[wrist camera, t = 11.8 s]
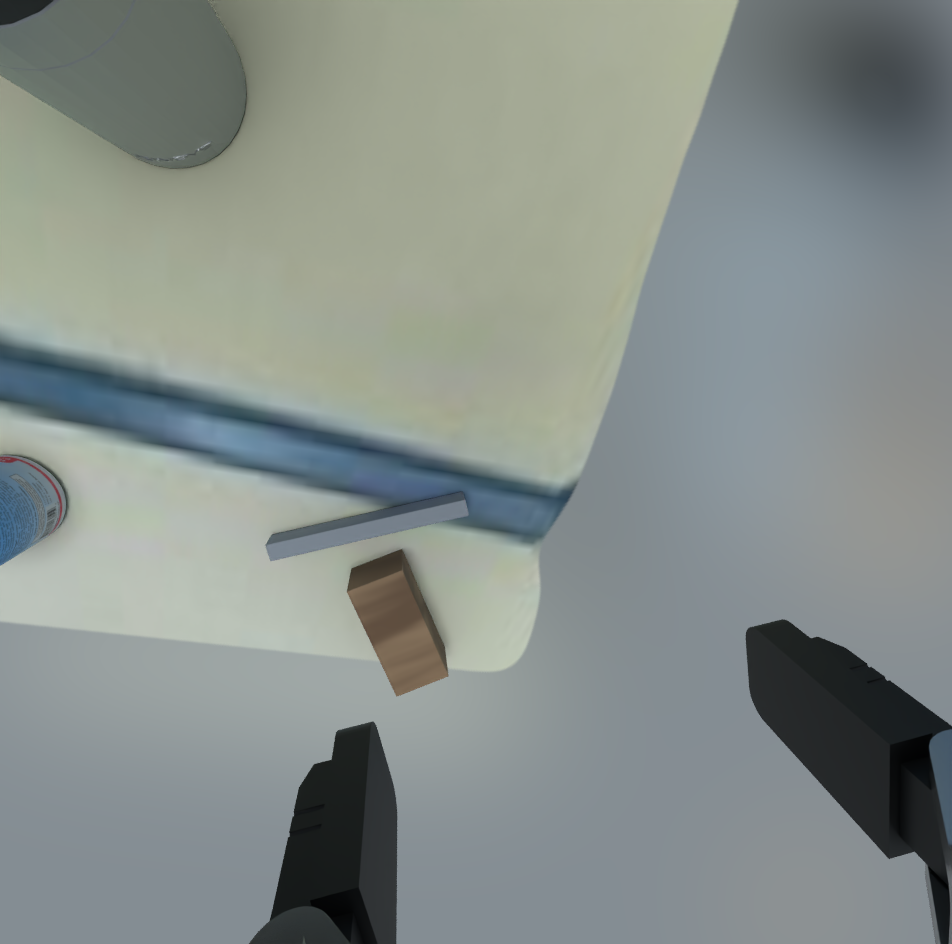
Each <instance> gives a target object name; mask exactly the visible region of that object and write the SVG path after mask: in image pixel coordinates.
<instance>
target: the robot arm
mask: <svg viewBox="0 0 952 944" xmlns="http://www.w3.org/2000/svg"><path fill="white" fill-rule="evenodd" d="M0 75H1V76H2V77H4V78H5V79H7V80H9V81H10V82H12V83H14V84H15V85H17V86H19V87H20V88H22V89H24V90H25V91H27V92H28V93H30V94H32V95H33V96H35V97H37V98H38V99H40V100H42V101H43V102H45V103H46V104H48V105H50V106H51V107H53V108H55V109H56V110H58V111H60V112H61V113H63V114H64V115H66V116H68V117H69V118H71V119H73V120H74V121H76V122H78V123H79V124H81V125H82V126H84V127H86V128H87V129H89V130H91V131H92V132H94V133H95V134H97V135H99V136H100V137H102V138H104V139H105V140H107V141H109V142H110V143H112V144H114V145H116V146H117V147H119V148H121V149H122V150H124V151H126V152H127V153H129V154H131V155H132V156H134V157H136V158H137V159H139V160H142V161H144V162H147V163H150V164H152V165H155V166H161V167H168V168H185V167H192V166H195V165H198V164H202V163H205V162H207V161H208V160H210V159H212V158H213V157H215V156H217V155H218V154H220V153H221V152H222V151H223V150H224V149H225V148H226V147H227V146H228V145H229V144H230V143H231V141H232V139H233V138H234V136H235V134H236V133H237V131H238V129H239V127H240V124H241V121H242V118H243V115H244V112H245V103H246V84H245V75H244V71H243V67H242V64H241V60H240V57H239V55H238V53H237V51H236V48H235V46H234V44H233V42H232V40H231V38H230V37H229V35H228V33H227V32H226V30H225V28H224V27H223V25H222V23H221V22H220V20H219V18H218V17H217V15H216V13H215V12H214V10H213V8H212V7H211V5H210V3H209V1H208V0H0ZM746 648H747V662H748V676H749V688H750V694H751V698H752V701H753V703H754V705H755V707H756V709H757V711H758V713H759V715H760V716H761V718H762V719H763V720H764V721H765V722H766V724H767V725H768V726H769V727H770V728H771V729H772V730H773V731H774V732H775V734H776V735H777V736H778V737H779V738H780V739H781V740H782V741H783V742H784V744H785V745H786V746H787V747H788V748H789V749H790V750H791V751H792V752H793V754H795V756H796V757H797V758H798V759H799V760H800V761H801V762H802V763H803V765H804V766H805V767H806V768H807V769H808V770H809V771H810V772H811V773H812V774H813V776H814V777H815V778H816V779H817V780H818V781H819V782H820V783H821V784H822V786H823V787H824V788H825V789H826V790H827V791H828V792H829V793H830V794H831V795H832V797H833V798H834V799H835V800H836V801H837V802H838V803H839V804H840V805H841V806H842V808H843V809H844V810H845V811H846V812H847V813H848V814H849V815H850V816H851V817H852V819H853V820H854V821H855V822H856V823H857V824H858V825H859V826H860V827H861V828H862V830H863V831H864V832H865V833H866V834H867V835H868V836H869V837H870V838H871V840H872V841H873V842H874V843H875V844H876V845H877V846H878V847H879V848H880V850H881V851H882V852H883V853H884V854H885V855H886V856H887V857H888V858H889V859H890V858H894V857H897V856H901V855H904V854H908V853H911V852H916V853H917V854H918V856H919V857H920V858H921V859H922V860H923V861H924V862H925V863H926V865H925V879H926V885H927V891H928V898H929V905H930V911H931V917H932V924H933V930H934V936H935V943H936V944H952V726H951V725H949V724H948V723H947V722H945V721H944V720H943V719H941V718H940V717H939V716H937V715H936V714H934V713H933V712H932V711H930V710H929V709H928V708H926V707H925V706H923V705H922V704H921V703H919V702H918V701H917V700H915V699H914V698H913V697H911V696H910V695H909V694H907V693H906V692H905V691H903V690H902V689H901V688H899V687H898V686H897V685H895V684H894V683H892V682H891V681H887V680H886V679H885V677H884V676H883V675H882V674H880V673H879V672H877V671H876V670H875V669H873V668H872V667H868V666H867V663H865V662H864V661H863V660H861V659H860V658H859V657H857V656H856V655H854V654H853V653H852V652H850V651H849V650H848V649H846V648H844V647H842V646H839V645H837V644H834V643H832V642H830V641H827V640H825V639H822V638H820V637H815V638H809V637H808V636H807V635H806V634H804V633H803V632H802V631H801V630H799V629H798V628H797V627H795V626H794V625H793V624H791V623H790V622H789V621H787V620H779V621H774V622H770V623H766V624H762V625H758V626H754V627H750V628H748V630H747V632H746ZM289 833H290V837H288V841H287V845H286V850H285V854H284V859H283V864H282V868H281V873H280V878H279V882H278V887H277V892H276V896H275V900H274V905H273V910H272V914H271V918H270V921H269V922H268V923H267V924H266V925H265V926H264V927H263V928H262V929H261V930H260V931H259V932H258V933H257V934H256V935H255V936H254V938H253V939H252V940H251V942H250V943H249V944H396V904H397V805H396V797H395V791H394V786H393V782H392V778H391V775H390V771H389V767H388V764H387V761H386V757H385V754H384V751H383V747H382V744H381V740H380V737H379V733H378V730H377V727H376V725H375V723H374V722H369V723H365V724H361V725H358V726H353V727H349V728H346V729H342V730H338V731H337V732H336V736H335V742H334V749H333V755H332V760H329V761H325V762H321V763H317V764H314V765H313V767H312V768H311V770H310V771H309V773H308V775H307V776H306V778H305V779H304V781H303V782H302V784H301V785H300V787H299V790H298V795H297V799H296V804H295V809H294V817H293V818H292V822H291V827H290V831H289Z"/></svg>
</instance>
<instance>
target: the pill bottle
mask: <svg viewBox="0 0 952 944" xmlns="http://www.w3.org/2000/svg"><path fill="white" fill-rule="evenodd" d="M65 510H66V499H65V495H64V492H63V489H62V487H61V486H60V484H59V482H58V481H57V480H56V479H55V477H54V476H53V475H52V474H51V473H49V472H48V471H47V470H46V469H44V468H43V467H42V466H40V465H39V464H37V463H35V462H33V461H31V460H29V459H26V458H23V457H18V456H11V455H3V456H0V566H1V565H2V564H4V563H5V562H7V561H9V560H10V559H12V558H14V557H15V556H17V555H18V554H20V553H22V552H23V551H25V550H26V549H28V548H30V547H31V546H33V545H35V544H36V543H38V542H39V541H41V540H43V539H44V538H46V537H47V536H49V535H50V534H52V533H53V532H54V531H55V530H56V529H57V528H58V527H59V525H60V524H61V522H62V520H63V518H64V515H65Z"/></svg>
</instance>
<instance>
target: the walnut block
mask: <svg viewBox="0 0 952 944" xmlns="http://www.w3.org/2000/svg"><path fill="white" fill-rule="evenodd" d="M347 593H348V595H349V597H350V599H351V601H352V604H353V606H354V608H355V610H356V612H357V614H358V616H359V618H360V620H361V622H362V625H363V627H364V629H365V631H366V633H367V635H368V637H369V639H370V641H371V644H372V646H373V648H374V650H375V652H376V654H377V656H378V658H379V660H380V662H381V664H382V667H383V669H384V671H385V673H386V675H387V677H388V679H389V681H390V683H391V685H392V688H393V690H394V692H395V694H396V696H399V695H402V694H404V693H407V692H410V691H412V690H415V689H417V688H420V687H422V686H425V685H427V684H430V683H432V682H435V681H437V680H440V679H443V678H445V677H448V669H447V661H446V654H445V647H444V645H443V642H442V640H441V638H440V636H439V633H438V631H437V629H436V626H435V624H434V622H433V619H432V617H431V615H430V612H429V610H428V608H427V606H426V603H425V601H424V599H423V596H422V594H421V592H420V589H419V587H418V585H417V582H416V580H415V578H414V576H413V573H412V571H411V569H410V566H409V564H408V562H407V559H406V557H405V555H404V552H403V550H402V549H401V550H398V551H396V552H393V553H391V554H388V555H386V556H383V557H380V558H378V559H375V560H373V561H370V562H367V563H365V564H362V565H360V566H357V567H354V568H352V569H351V574H350V579H349V584H348V589H347Z"/></svg>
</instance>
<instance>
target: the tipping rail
mask: <svg viewBox="0 0 952 944" xmlns="http://www.w3.org/2000/svg"><path fill="white" fill-rule="evenodd" d="M465 516H469V514H468V510H467V505H466V500H465V497H464V494H463V492H458V493H454V494H450V495H445V496H441V497H436V498H432V499H427V500H423V501H419V502H414V503H410V504H405V505H401V506H397V507H392V508H388V509H383V510H379V511H375V512H370V513H366V514H361V515H357V516H352V517H348V518H344V519H339V520H335V521H330V522H326V523H322V524H317V525H313V526H308V527H304V528H300V529H295V530H291V531H286V532H282V533H277V534H273V535H271V537H270V539H269V540H268V542H267V544H266V549H267V552H268V555H269V558H270V561H273V560H278V559H282V558H286V557H291V556H295V555H299V554H304V553H308V552H312V551H317V550H321V549H325V548H330V547H334V546H339V545H343V544H347V543H352V542H356V541H360V540H365V539H369V538H373V537H378V536H382V535H386V534H391V533H395V532H399V531H404V530H408V529H413V528H417V527H421V526H426V525H430V524H434V523H439V522H443V521H447V520H452V519H456V518H460V517H465Z"/></svg>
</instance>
